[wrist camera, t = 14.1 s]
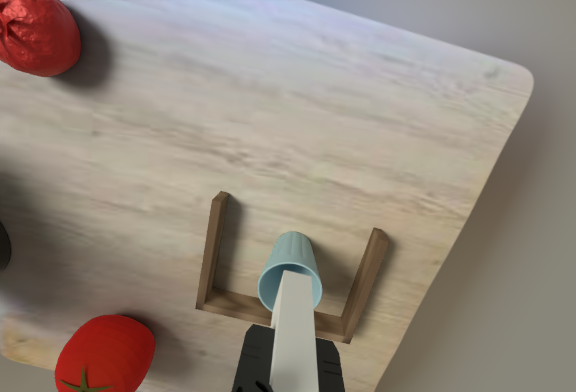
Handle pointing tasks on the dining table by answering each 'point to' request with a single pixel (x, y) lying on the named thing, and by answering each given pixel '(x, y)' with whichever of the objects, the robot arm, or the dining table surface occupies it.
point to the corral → (253, 307)
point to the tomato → (105, 356)
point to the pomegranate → (38, 36)
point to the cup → (288, 267)
